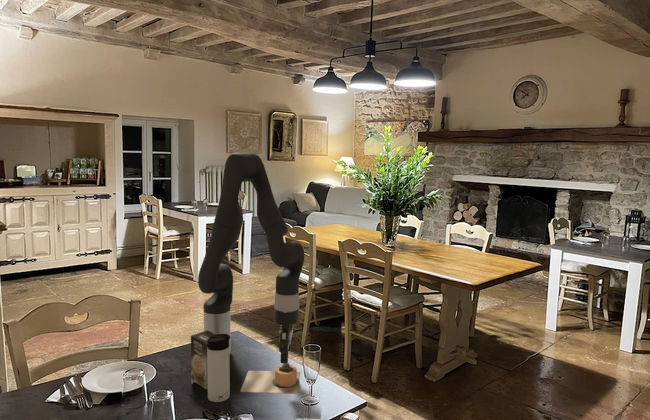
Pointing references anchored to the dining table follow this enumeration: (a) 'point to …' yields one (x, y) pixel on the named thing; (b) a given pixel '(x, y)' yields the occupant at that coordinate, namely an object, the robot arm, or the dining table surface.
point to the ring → (285, 376)
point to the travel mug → (218, 367)
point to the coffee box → (199, 358)
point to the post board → (267, 382)
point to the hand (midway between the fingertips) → (285, 356)
